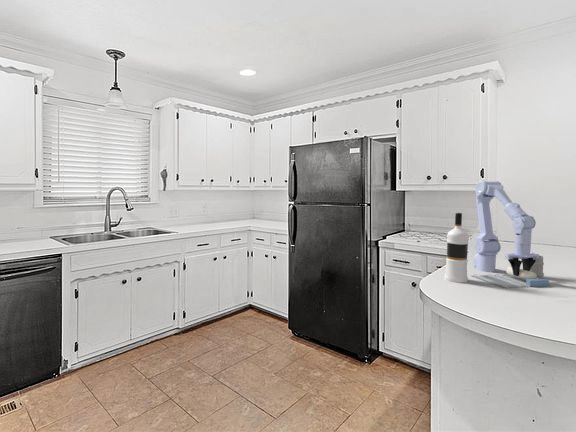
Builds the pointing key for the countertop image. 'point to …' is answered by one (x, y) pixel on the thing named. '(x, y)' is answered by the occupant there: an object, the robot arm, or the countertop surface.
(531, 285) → the board
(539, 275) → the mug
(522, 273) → the cream paper roll
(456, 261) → the vodka
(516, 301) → the countertop surface
